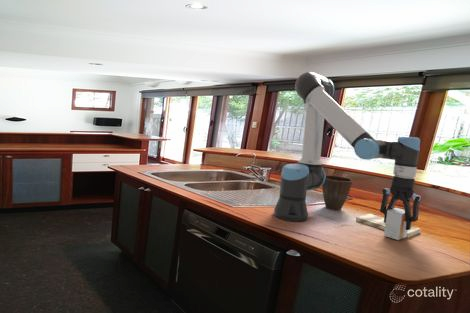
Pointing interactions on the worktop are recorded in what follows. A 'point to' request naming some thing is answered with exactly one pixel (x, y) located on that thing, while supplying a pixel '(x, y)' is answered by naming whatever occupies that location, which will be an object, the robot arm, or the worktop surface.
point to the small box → (394, 223)
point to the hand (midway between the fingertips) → (395, 234)
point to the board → (382, 223)
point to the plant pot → (336, 191)
